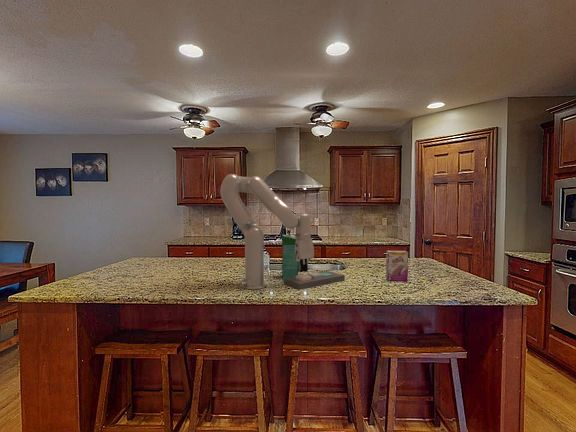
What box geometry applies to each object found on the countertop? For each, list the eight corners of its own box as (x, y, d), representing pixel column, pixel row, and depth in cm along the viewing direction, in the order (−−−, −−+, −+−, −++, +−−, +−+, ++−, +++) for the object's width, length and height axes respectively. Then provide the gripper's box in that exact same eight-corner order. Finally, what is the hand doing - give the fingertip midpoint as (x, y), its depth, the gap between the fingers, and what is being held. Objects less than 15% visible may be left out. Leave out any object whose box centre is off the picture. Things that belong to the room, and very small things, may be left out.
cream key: (302, 282, 166) (302, 277, 166) (295, 280, 171) (295, 275, 170) (311, 281, 169) (311, 276, 169) (304, 278, 174) (304, 274, 174)
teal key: (325, 280, 175) (325, 275, 175) (317, 278, 180) (317, 274, 180) (333, 278, 179) (333, 274, 179) (325, 276, 184) (325, 272, 184)
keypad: (299, 289, 160) (299, 283, 160) (283, 284, 171) (283, 278, 171) (344, 280, 179) (344, 275, 178) (327, 275, 190) (327, 270, 190)
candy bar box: (387, 281, 177) (387, 251, 177) (385, 279, 182) (386, 250, 182) (408, 281, 176) (408, 252, 176) (405, 279, 181) (406, 250, 180)
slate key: (314, 280, 170) (314, 275, 170) (307, 278, 175) (307, 273, 175) (322, 278, 174) (322, 274, 174) (315, 276, 179) (315, 272, 179)
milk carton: (298, 279, 181) (298, 235, 180) (282, 279, 182) (282, 235, 181) (297, 275, 190) (297, 234, 189) (282, 275, 191) (282, 233, 190)
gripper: (297, 238, 162) (297, 274, 162) (319, 236, 170) (319, 270, 171) (288, 237, 168) (289, 272, 168) (309, 235, 176) (310, 268, 177)
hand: (304, 271), depth 170 cm, fingers closed
